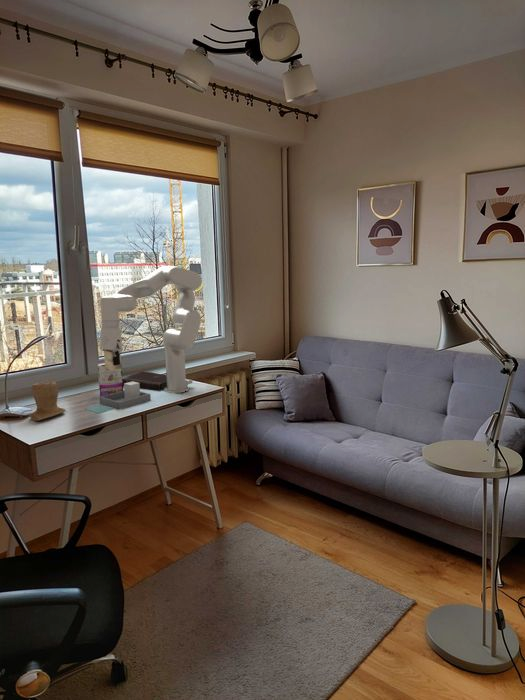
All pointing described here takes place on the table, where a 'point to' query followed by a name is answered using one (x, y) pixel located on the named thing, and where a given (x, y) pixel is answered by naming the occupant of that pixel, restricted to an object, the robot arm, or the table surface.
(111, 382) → the candy bar box
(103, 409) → the mat
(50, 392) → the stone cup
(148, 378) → the diary
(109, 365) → the labelled block
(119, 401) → the parts bin
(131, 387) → the grey block
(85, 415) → the table surface
